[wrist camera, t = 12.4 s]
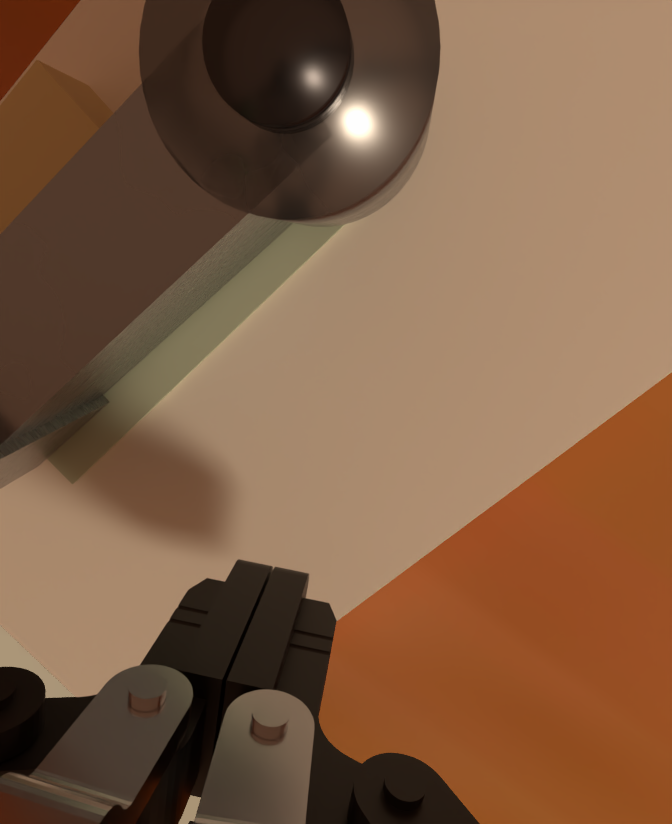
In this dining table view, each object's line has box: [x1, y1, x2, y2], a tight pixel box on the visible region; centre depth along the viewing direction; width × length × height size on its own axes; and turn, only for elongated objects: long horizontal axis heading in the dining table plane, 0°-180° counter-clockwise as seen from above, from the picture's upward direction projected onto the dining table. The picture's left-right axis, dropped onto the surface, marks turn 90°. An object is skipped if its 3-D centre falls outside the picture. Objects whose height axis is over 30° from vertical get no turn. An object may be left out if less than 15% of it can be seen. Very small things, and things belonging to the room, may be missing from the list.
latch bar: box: [0, 0, 441, 489], centre depth 11 cm, size 12×4×4 cm, turn 130°
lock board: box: [0, 0, 672, 697], centre depth 12 cm, size 26×13×3 cm, turn 133°
